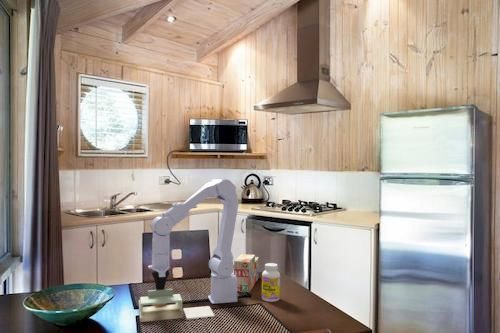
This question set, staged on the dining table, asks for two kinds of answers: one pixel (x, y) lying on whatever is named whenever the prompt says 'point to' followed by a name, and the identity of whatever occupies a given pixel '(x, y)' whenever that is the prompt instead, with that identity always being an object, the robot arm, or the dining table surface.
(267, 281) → the supplement bottle
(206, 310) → the tile
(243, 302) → the dining table surface
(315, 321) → the dining table surface
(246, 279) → the printed cardboard box
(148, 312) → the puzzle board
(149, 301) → the sliding cover
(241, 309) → the dining table surface
